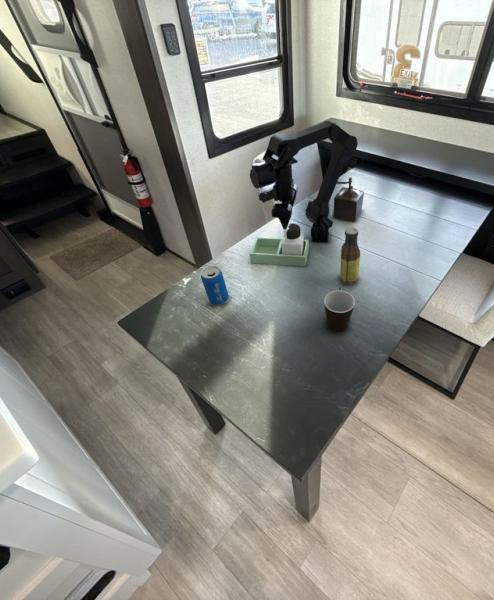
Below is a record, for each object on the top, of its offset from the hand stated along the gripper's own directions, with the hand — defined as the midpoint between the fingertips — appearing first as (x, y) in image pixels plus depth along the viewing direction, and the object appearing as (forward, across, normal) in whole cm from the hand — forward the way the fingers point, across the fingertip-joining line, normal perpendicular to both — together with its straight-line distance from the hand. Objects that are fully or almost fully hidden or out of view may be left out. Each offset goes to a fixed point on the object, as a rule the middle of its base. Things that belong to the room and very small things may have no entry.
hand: (286, 221), depth 111 cm
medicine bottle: (+12, +3, +2) cm, 13 cm away
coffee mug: (+13, +34, +20) cm, 41 cm away
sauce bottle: (+13, +15, +23) cm, 30 cm away
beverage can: (+13, +27, -20) cm, 36 cm away
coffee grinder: (+13, -30, +20) cm, 38 cm away
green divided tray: (+13, +3, -3) cm, 14 cm away
